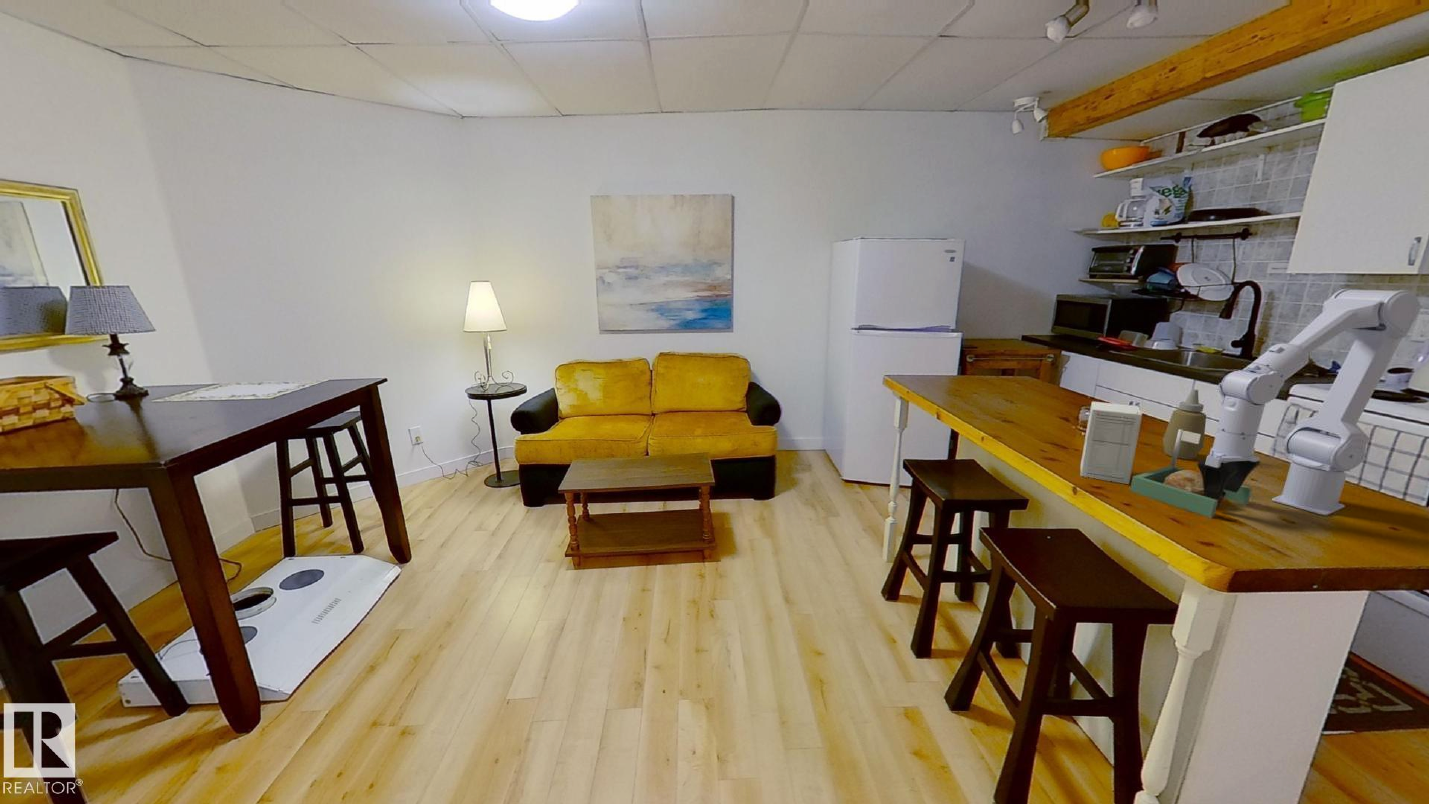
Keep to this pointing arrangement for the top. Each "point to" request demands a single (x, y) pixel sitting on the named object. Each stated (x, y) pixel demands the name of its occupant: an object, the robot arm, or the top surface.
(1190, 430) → the squeeze bottle
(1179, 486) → the bread roll
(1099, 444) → the supplement box
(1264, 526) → the top surface
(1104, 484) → the top surface
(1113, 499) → the top surface
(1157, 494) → the teal shallow tray
